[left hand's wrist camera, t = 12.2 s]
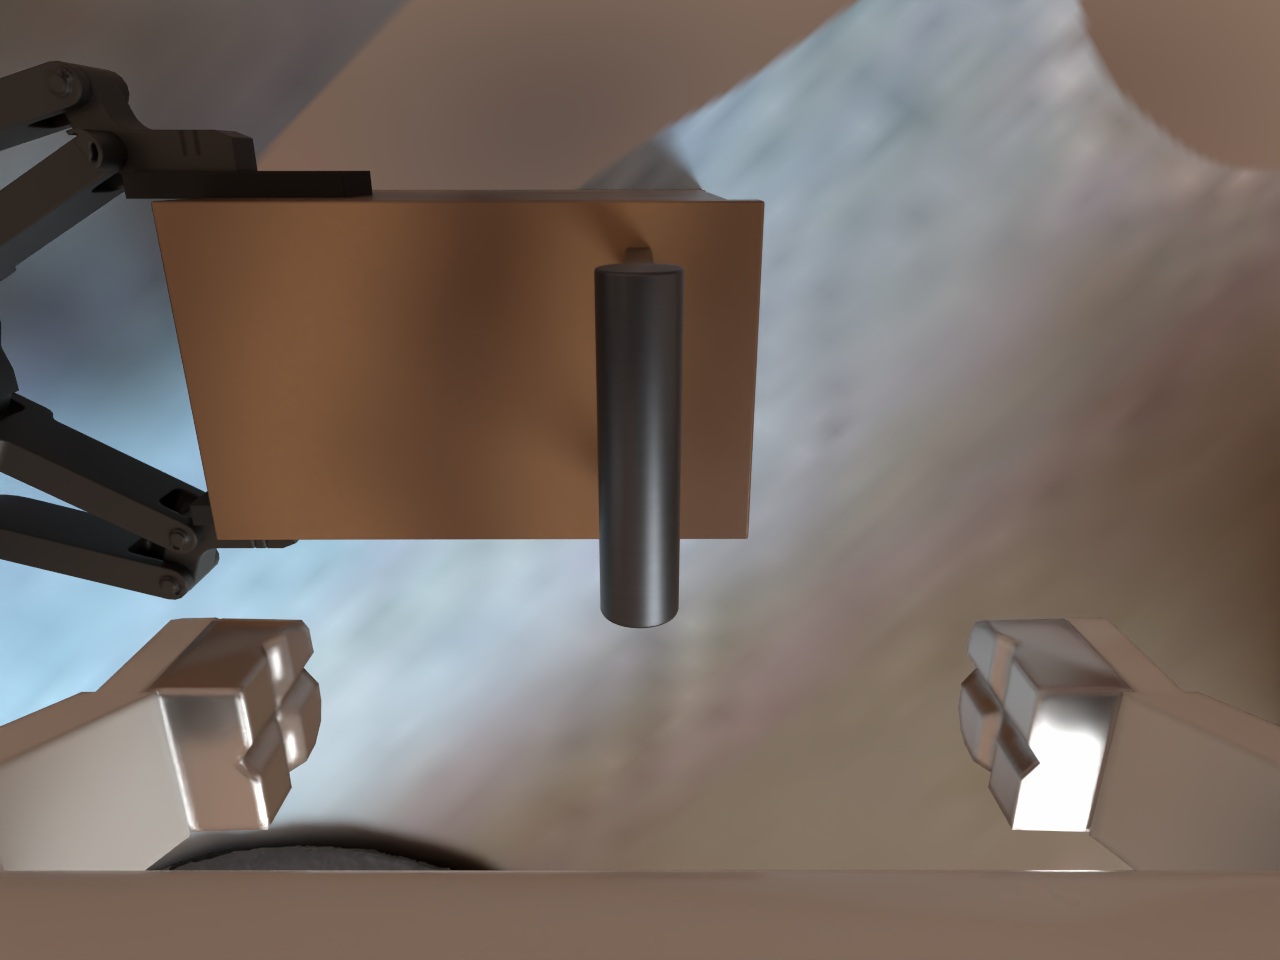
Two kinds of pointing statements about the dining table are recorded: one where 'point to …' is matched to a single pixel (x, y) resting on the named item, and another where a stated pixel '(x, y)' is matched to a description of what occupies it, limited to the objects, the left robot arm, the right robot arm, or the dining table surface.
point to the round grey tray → (302, 860)
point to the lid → (475, 372)
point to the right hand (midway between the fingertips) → (377, 352)
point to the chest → (515, 195)
